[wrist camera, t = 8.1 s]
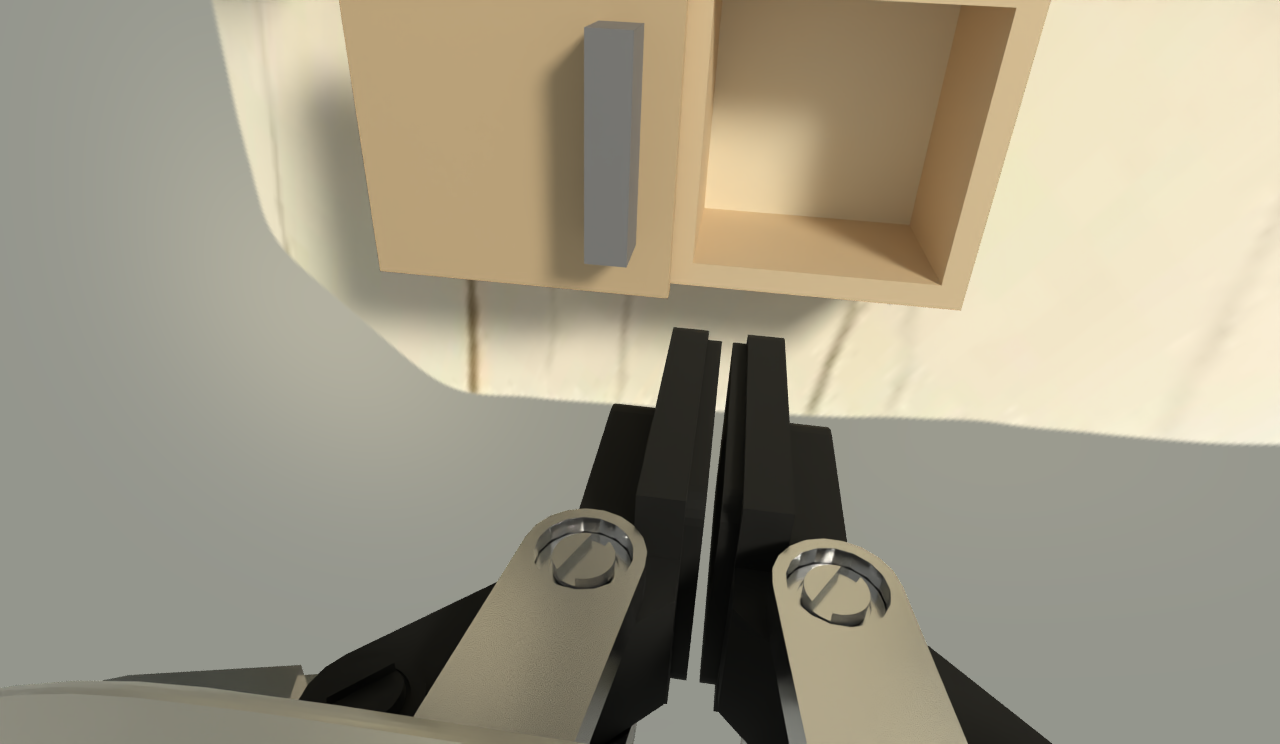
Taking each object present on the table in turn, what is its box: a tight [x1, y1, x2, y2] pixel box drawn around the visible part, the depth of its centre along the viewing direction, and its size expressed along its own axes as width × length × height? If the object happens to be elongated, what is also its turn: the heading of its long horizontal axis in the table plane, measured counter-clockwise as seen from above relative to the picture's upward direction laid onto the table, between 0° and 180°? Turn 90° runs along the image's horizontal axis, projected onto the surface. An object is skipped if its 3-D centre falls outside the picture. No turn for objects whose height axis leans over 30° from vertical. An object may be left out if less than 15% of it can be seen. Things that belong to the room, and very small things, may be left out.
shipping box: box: [670, 0, 1051, 311], centre depth 31 cm, size 12×12×8 cm
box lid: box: [339, 0, 689, 298], centre depth 27 cm, size 12×12×3 cm
